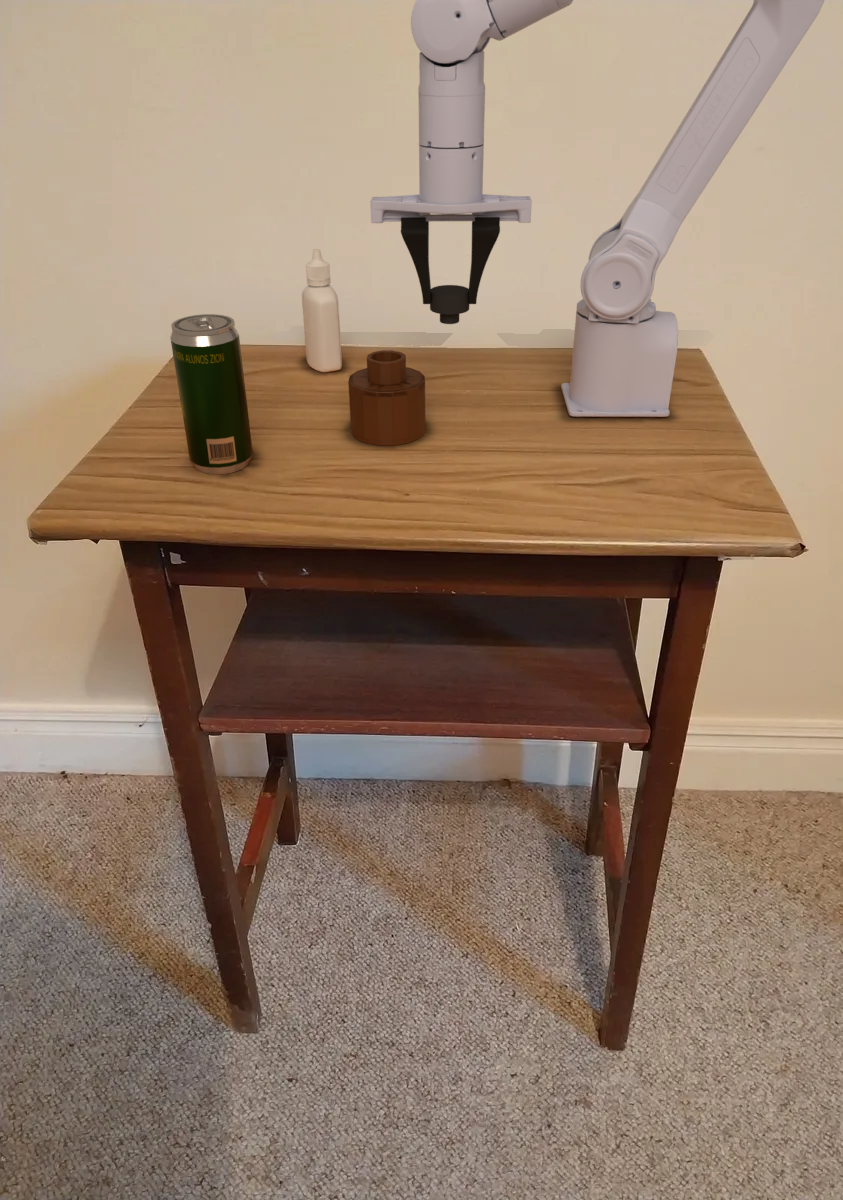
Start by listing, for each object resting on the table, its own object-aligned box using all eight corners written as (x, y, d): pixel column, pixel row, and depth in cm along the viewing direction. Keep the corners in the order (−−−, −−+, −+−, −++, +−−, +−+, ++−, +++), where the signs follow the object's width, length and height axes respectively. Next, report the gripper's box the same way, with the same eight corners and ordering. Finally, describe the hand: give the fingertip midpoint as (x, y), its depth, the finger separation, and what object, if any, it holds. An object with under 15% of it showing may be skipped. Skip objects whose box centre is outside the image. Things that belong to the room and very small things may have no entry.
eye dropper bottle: (348, 356, 101) (342, 243, 95) (340, 374, 97) (333, 256, 90) (309, 355, 102) (300, 243, 95) (299, 373, 97) (289, 256, 90)
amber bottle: (425, 416, 87) (425, 344, 83) (424, 445, 81) (423, 369, 77) (354, 416, 87) (351, 344, 83) (348, 445, 81) (344, 369, 77)
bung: (468, 315, 90) (469, 284, 88) (469, 327, 87) (469, 295, 85) (430, 315, 90) (430, 284, 88) (429, 327, 87) (429, 295, 85)
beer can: (261, 468, 77) (245, 327, 71) (199, 480, 75) (177, 337, 69) (243, 445, 81) (226, 310, 75) (183, 456, 79) (161, 318, 73)
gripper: (530, 138, 83) (522, 290, 90) (372, 139, 83) (377, 290, 91) (536, 149, 77) (527, 310, 85) (366, 149, 77) (372, 310, 85)
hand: (450, 301), depth 87 cm, fingers closed on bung, 4 cm apart
